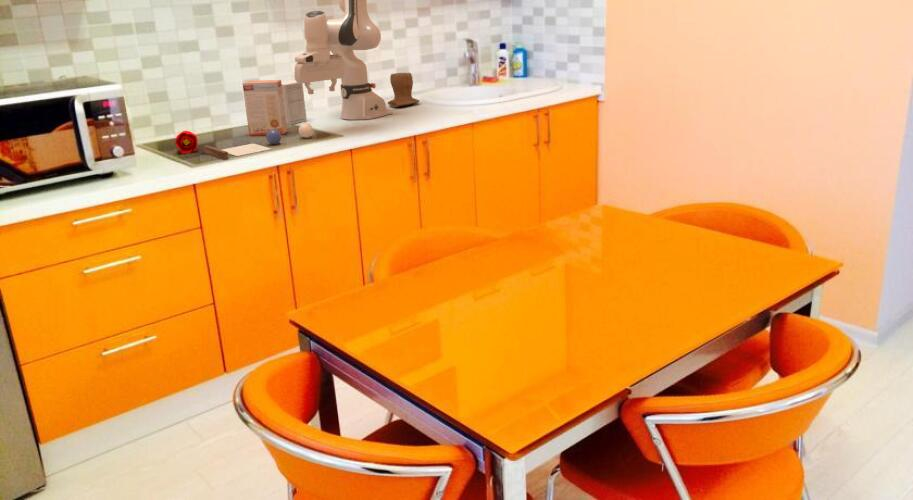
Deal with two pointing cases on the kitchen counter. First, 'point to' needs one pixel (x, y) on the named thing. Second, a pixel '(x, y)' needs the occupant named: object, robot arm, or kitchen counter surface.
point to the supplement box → (293, 102)
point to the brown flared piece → (402, 90)
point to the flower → (186, 141)
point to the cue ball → (306, 130)
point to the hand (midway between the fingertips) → (321, 92)
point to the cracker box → (264, 106)
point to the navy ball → (273, 137)
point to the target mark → (246, 149)
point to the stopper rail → (216, 152)
